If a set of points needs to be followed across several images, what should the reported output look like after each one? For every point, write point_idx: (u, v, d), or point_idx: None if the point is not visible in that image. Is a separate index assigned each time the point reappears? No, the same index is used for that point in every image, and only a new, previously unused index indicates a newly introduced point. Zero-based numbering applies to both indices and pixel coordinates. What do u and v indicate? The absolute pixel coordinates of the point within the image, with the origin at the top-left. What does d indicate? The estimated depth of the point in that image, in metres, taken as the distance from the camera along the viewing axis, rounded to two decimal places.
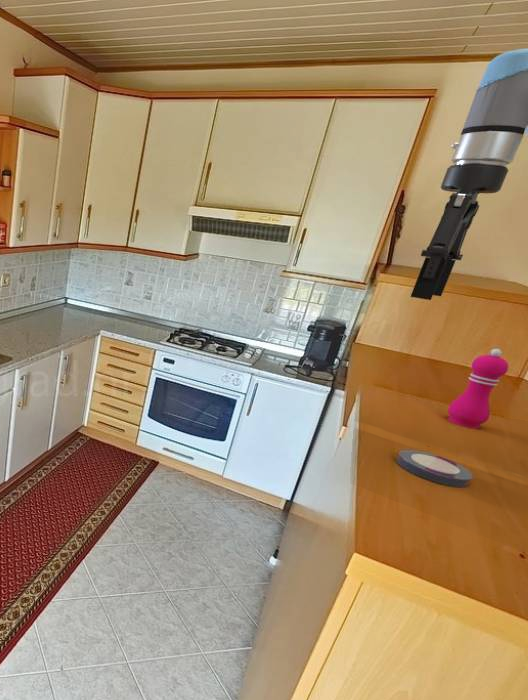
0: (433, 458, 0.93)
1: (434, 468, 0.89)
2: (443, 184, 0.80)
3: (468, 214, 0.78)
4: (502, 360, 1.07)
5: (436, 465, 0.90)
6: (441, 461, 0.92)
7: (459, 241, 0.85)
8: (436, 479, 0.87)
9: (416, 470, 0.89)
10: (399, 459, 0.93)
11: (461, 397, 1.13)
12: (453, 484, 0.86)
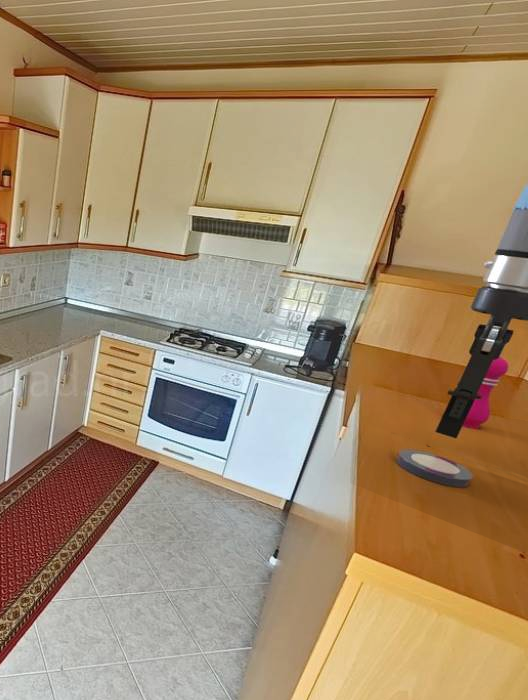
0: (433, 458, 0.93)
1: (434, 468, 0.89)
2: (474, 306, 0.73)
3: (500, 348, 0.72)
4: (502, 360, 1.07)
5: (436, 465, 0.90)
6: (441, 461, 0.92)
7: None
8: (436, 479, 0.87)
9: (416, 470, 0.89)
10: (399, 459, 0.93)
11: None
12: (453, 484, 0.86)
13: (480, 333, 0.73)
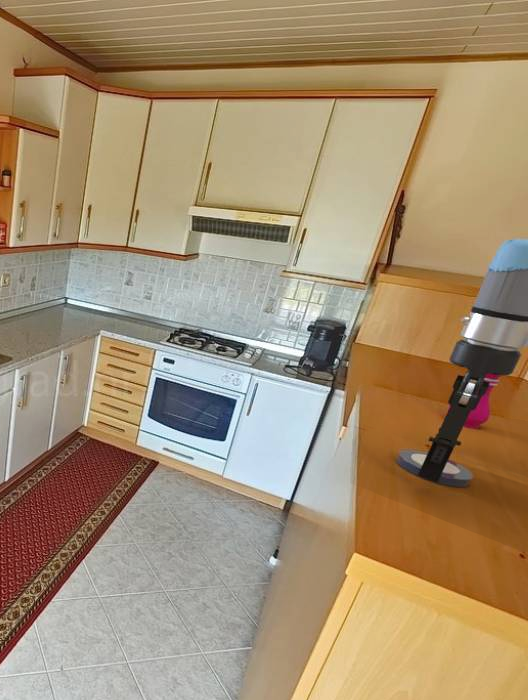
0: None
1: None
2: (452, 359, 0.77)
3: (477, 400, 0.75)
4: None
5: None
6: None
7: None
8: None
9: (416, 470, 0.89)
10: (399, 459, 0.93)
11: None
12: (453, 484, 0.86)
13: (458, 385, 0.77)
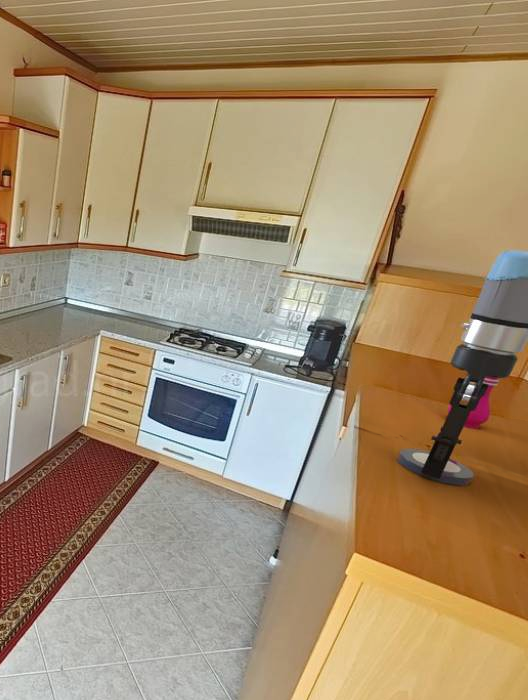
0: None
1: None
2: (453, 363, 0.82)
3: (476, 401, 0.80)
4: None
5: None
6: None
7: None
8: None
9: (416, 468, 0.90)
10: (400, 458, 0.94)
11: None
12: (453, 482, 0.87)
13: (459, 387, 0.81)
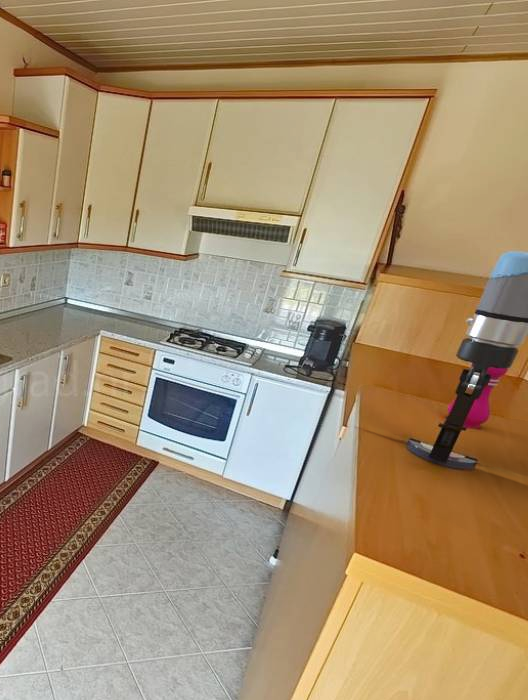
0: None
1: None
2: (459, 355, 0.88)
3: (480, 390, 0.87)
4: None
5: None
6: None
7: None
8: (443, 462, 0.94)
9: (424, 454, 0.97)
10: (409, 444, 1.00)
11: None
12: (459, 467, 0.94)
13: (464, 377, 0.88)
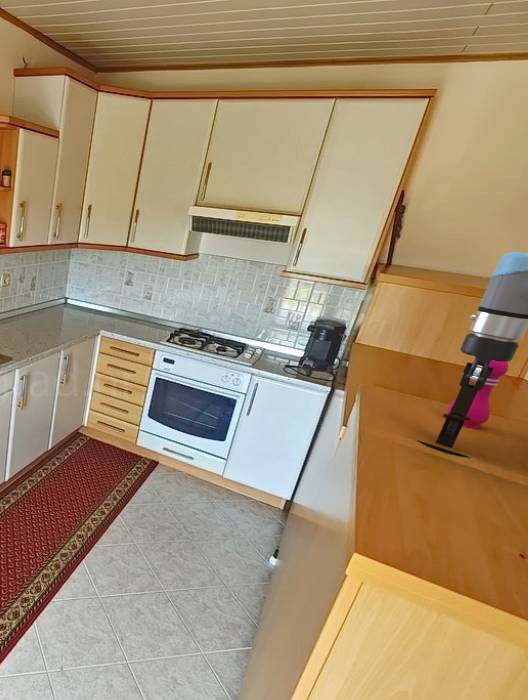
0: None
1: None
2: (463, 349, 0.94)
3: (483, 382, 0.93)
4: None
5: None
6: None
7: None
8: (447, 450, 1.00)
9: None
10: None
11: None
12: (463, 455, 1.00)
13: (467, 370, 0.94)
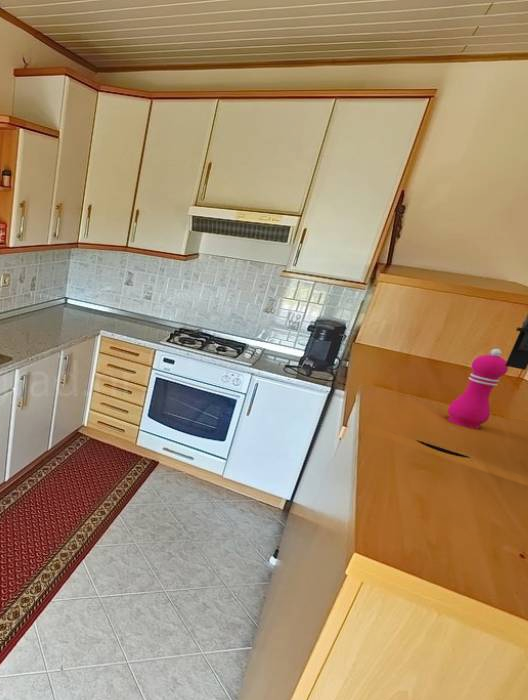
0: None
1: None
2: None
3: None
4: (502, 360, 1.07)
5: None
6: None
7: None
8: (447, 450, 1.00)
9: None
10: None
11: (461, 397, 1.13)
12: (463, 455, 1.00)
13: None
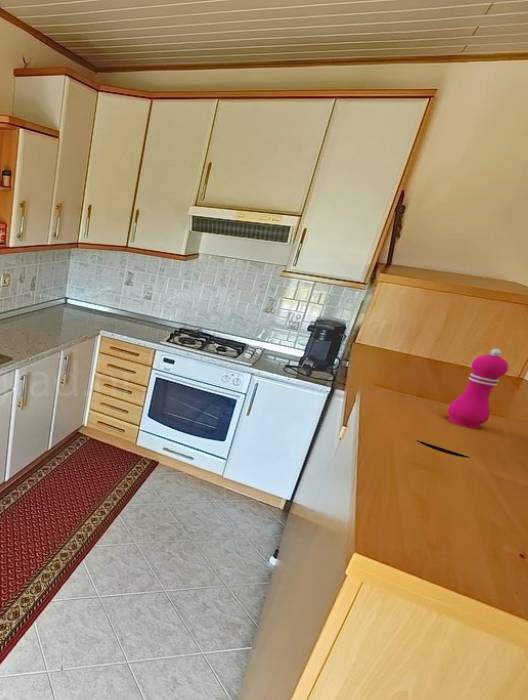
0: None
1: None
2: None
3: None
4: (502, 360, 1.07)
5: None
6: None
7: None
8: (447, 450, 1.00)
9: None
10: None
11: (461, 397, 1.13)
12: (463, 455, 1.00)
13: None
